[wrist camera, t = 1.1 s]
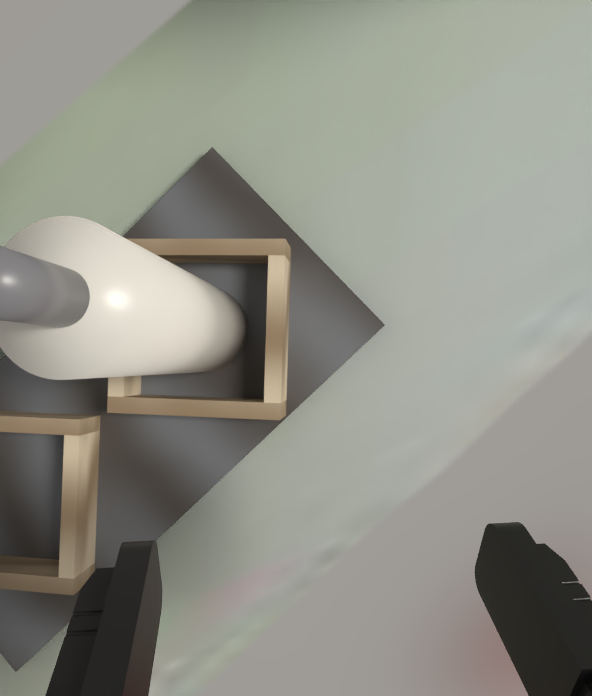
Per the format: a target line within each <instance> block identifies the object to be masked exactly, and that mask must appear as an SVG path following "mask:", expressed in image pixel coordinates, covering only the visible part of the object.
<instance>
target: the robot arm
mask: <svg viewBox="0 0 592 696" xmlns="http://www.w3.org/2000/svg"><path fill="white" fill-rule="evenodd" d="M475 579H476V585H477V588H478V591H479V593H480V596H481V598H482V600H483V602H484V604H485V606H486V608H487V610H488V612H489V614H490V617H491V619H492V621H493V623H494V625H495V627H496V629H497V631H498V633H499V635H500V637H501V639H502V641H503V643H504V645H505V647H506V650H507V652H508V654H509V656H510V657H511V660H512V662H513V664H514V666H515V668H516V670H517V672H518V674H519V676H520V678H521V681H522V682H523V685H524V687H525V689H526V691H527V693H528V695H529V696H592V601H591V600H590V596H589V594H588V593H587V591H586V590H585V588H584V587H583V586H582V584H579V581H578V579H577V577H576V576H575V574H574V573H573V571H572V570H571V569H570V567H569V566H568V564H567V563H566V562H565V560H564V559H562V558H561V557H560V556H559V555H558V554H556V553H555V552H554V551H553V550H552V549H550V548H549V547H548V546H547V545H546V544H536V543H535V541H534V540H533V538H532V537H531V535H530V534H529V532H528V531H527V530H526V528H525V527H524V526H523V525H522V524H521V523H519V522H515V523H514V522H513V523H494V524H488V525H487V526H486V528H485V532H484V535H483V539H482V542H481V546H480V550H479V554H478V558H477V562H476V566H475ZM161 607H162V582H161V574H160V566H159V558H158V549H157V543H156V541H155V540H152V541H133V542H123V543H122V544H121V546H120V549H119V553H118V557H117V560H116V564H115V567H110V568H97V569H96V570H95V571H94V572H93V574H92V575H91V576H90V577H89V579H88V580H87V581H86V583H85V584H84V585H83V586H82V588H81V589H80V592H79V595H78V598H77V601H76V604H75V607H74V610H73V616H72V617H71V620H70V623H69V626H68V629H67V635H66V637H65V638H64V641H63V644H62V647H61V650H60V653H59V656H58V659H57V662H56V665H55V668H54V672H53V675H52V678H51V681H50V684H49V687H48V690H47V693H46V696H148V693H149V687H150V680H151V674H152V667H153V661H154V654H155V648H156V642H157V635H158V629H159V622H160V616H161Z"/></svg>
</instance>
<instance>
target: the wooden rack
mask: <svg viewBox="0 0 592 696" xmlns="http://www.w3.org/2000/svg"><path fill="white" fill-rule="evenodd" d="M124 238H126V239H127V240H129V241H131V242H133V243H135V244H137V245H139V246H141V247H142V248H144V249H146V250H148V251H150V252H152V253H154V254H155V255H157V256H159V257H161V258H163V259H165V260H167V261H169V262H170V263H172V264H174V265H176V266H178V267H180V268H182V269H184V270H185V271H187V272H189V273H191V274H193V275H195V276H197V277H198V278H200V279H202V280H204V281H206V282H208V283H210V284H212V285H213V286H215V287H217V288H219V289H221V290H223V291H225V292H227V293H228V294H230V295H231V296H233V297H234V298H235V299H236V300H237V301H238V302H239V303H240V305H241V306H242V308H243V310H244V312H245V314H246V317H247V322H248V337H247V342H246V344H245V347H244V349H243V351H242V352H241V354H240V355H239V357H238V358H237V359H236V360H235V361H234V362H233V363H231V364H230V365H228V366H227V367H225V368H223V369H220V370H217V371H212V372H197V373H179V374H161V375H143V376H125V377H107V378H89V379H72V380H53V379H46V378H42V377H38V376H36V375H33V374H31V373H29V372H27V371H25V370H23V369H22V368H20V367H19V366H18V365H16V364H15V363H14V362H12V361H11V360H10V358H9V357H8V356H7V355H5V356H4V357H3V358H2V359H1V360H0V652H1V654H2V655H3V656H4V658H5V659H6V660H7V661H8V663H9V664H10V665H11V666H12V668H13V669H14V670H15V671H17V670H18V669H20V668H21V667H22V666H23V665H24V664H25V663H26V662H27V661H28V660H29V659H30V658H31V657H33V656H34V655H35V654H36V653H37V652H38V651H39V650H40V649H41V648H42V647H43V646H44V645H45V644H46V643H47V642H48V641H50V640H51V639H52V638H53V637H54V636H55V635H56V634H57V633H58V632H59V631H60V630H61V629H62V628H63V627H64V626H65V625H67V624H68V623H69V622H70V620H71V617H72V616H73V610H74V607H75V604H76V601H77V598H78V595H79V592H80V589H81V588H82V586H83V585H84V584H85V583H86V581H87V580H88V579H89V577H90V576H91V575H92V574H93V572H94V571H95V570H96V569H97V568H110V567H115V564H116V560H117V557H118V553H119V549H120V546H121V544H122V543H123V542H133V541H152V540H155V541H156V540H157V539H158V538H159V537H160V536H161V535H162V534H163V533H164V532H165V531H166V530H167V529H169V528H170V527H171V526H172V525H173V524H174V523H175V522H176V521H177V520H178V519H179V518H180V517H181V516H182V515H183V514H184V513H186V512H187V511H188V510H189V509H190V508H191V507H192V506H193V505H194V504H195V503H196V502H197V501H198V500H199V499H200V498H201V497H203V496H204V495H205V494H206V493H207V492H208V491H209V490H210V489H211V488H212V487H213V486H214V485H215V484H216V483H217V482H218V481H220V480H221V479H222V478H223V477H224V476H225V475H226V474H227V473H228V472H229V471H230V470H231V469H232V468H233V467H234V466H235V465H237V464H238V463H239V462H240V461H241V460H242V459H243V458H244V457H245V456H246V455H247V454H248V453H249V452H250V451H251V450H252V449H254V448H255V447H256V446H257V445H258V444H259V443H260V442H261V441H262V440H263V439H264V438H265V437H266V436H267V435H268V434H269V433H271V432H272V431H273V430H274V429H275V428H276V427H277V426H278V425H279V424H280V423H281V422H282V421H283V420H284V419H285V418H286V417H288V416H289V415H290V414H291V413H292V412H293V411H294V410H295V409H296V408H297V407H298V406H299V405H300V404H301V403H302V402H303V401H305V400H306V399H307V398H308V397H309V396H310V395H311V394H312V393H313V392H314V391H315V390H316V389H317V388H318V387H319V386H320V385H322V384H323V383H324V382H325V381H326V380H327V379H328V378H329V377H330V376H331V375H332V374H333V373H334V372H335V371H336V370H337V369H339V368H340V367H341V366H342V365H343V364H344V363H345V362H346V361H347V360H348V359H349V358H350V357H351V356H352V355H353V354H354V353H356V352H357V351H358V350H359V349H360V348H361V347H362V346H363V345H364V344H365V343H366V342H367V341H368V340H369V339H370V338H371V337H373V336H374V335H375V334H376V333H377V332H378V331H379V330H380V329H381V328H382V327H383V326H384V324H383V323H382V322H381V321H380V320H379V318H378V317H377V316H376V315H375V314H374V313H373V312H372V311H371V310H370V309H369V308H368V307H367V306H366V305H365V304H364V303H363V302H362V301H361V300H360V299H359V298H358V297H357V296H356V295H355V294H354V293H353V292H352V291H351V290H350V289H349V288H348V287H347V286H346V284H345V283H344V282H343V281H342V280H341V279H340V278H339V277H338V276H337V275H336V274H335V273H334V272H333V271H332V270H331V269H330V268H329V267H328V266H327V265H326V264H325V263H324V262H323V261H322V260H321V259H320V258H319V257H318V256H317V255H316V254H315V253H314V252H313V250H312V249H311V248H310V247H309V246H308V245H307V244H306V243H305V242H304V241H303V240H302V239H301V238H300V237H299V236H298V235H297V234H296V233H295V232H294V231H293V230H292V229H291V228H290V227H289V226H288V225H287V224H286V223H285V222H284V221H283V220H282V219H281V217H280V216H279V215H278V214H277V213H276V212H275V211H274V210H273V209H272V208H271V207H270V206H269V205H268V204H267V203H266V202H265V201H264V200H263V199H262V198H261V197H260V196H259V195H258V194H257V193H256V192H255V191H254V190H253V189H252V188H251V187H250V186H249V185H248V183H247V182H246V181H245V180H244V179H243V178H242V177H241V176H240V175H239V174H238V173H237V172H236V171H235V170H234V169H233V168H232V167H231V166H230V165H229V164H228V163H227V162H226V161H225V160H224V159H223V158H222V157H221V156H220V155H219V154H218V153H217V152H216V151H215V149H214V148H213V147H212V148H211V149H210V150H209V151H208V152H207V153H206V154H205V155H204V156H203V157H202V158H201V159H200V160H199V161H198V162H197V163H196V164H195V165H194V166H193V167H192V168H191V169H190V170H189V171H188V172H187V173H186V174H185V175H184V176H183V177H182V178H181V179H180V180H179V181H178V182H177V183H176V184H175V185H174V186H173V187H172V188H171V189H170V190H169V191H168V192H167V193H166V194H165V195H164V196H163V197H162V198H161V199H160V200H159V201H158V202H157V203H156V204H155V205H154V206H153V207H152V208H151V209H150V210H149V211H148V212H147V213H146V214H145V215H144V216H143V217H142V218H141V219H140V220H139V221H138V222H137V223H136V224H135V225H134V226H133V227H132V228H131V229H130V230H129V231H128V232H127V233H126V234H125V236H124Z"/></svg>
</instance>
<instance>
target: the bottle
mask: <svg viewBox="0 0 592 696" xmlns="http://www.w3.org/2000/svg"><path fill="white" fill-rule="evenodd" d="M247 337H248V322H247V317H246V314H245V312H244V310H243V308H242V306H241V305H240V303H239V302H238V301H237V300H236V299H235V298H234V297H233V296H231V295H230V294H228V293H227V292H225V291H223V290H221V289H219V288H217V287H215V286H213V285H212V284H210V283H208V282H206V281H204V280H202V279H200V278H198V277H197V276H195V275H193V274H191V273H189V272H187V271H185V270H184V269H182V268H180V267H178V266H176V265H174V264H172V263H170V262H169V261H167V260H165V259H163V258H161V257H159V256H157V255H155V254H154V253H152V252H150V251H148V250H146V249H144V248H142V247H141V246H139V245H137V244H135V243H133V242H131V241H129V240H127V239H126V238H124V237H122V236H120V235H118V234H116V233H114V232H112V231H111V230H109V229H107V228H105V227H103V226H101V225H99V224H97V223H96V222H93V221H90V220H88V219H85V218H80V217H75V216H56V217H51V218H46V219H43V220H40V221H37V222H35V223H33V224H31V225H29V226H27V227H26V228H24V229H23V230H21V231H20V232H19V233H17V234H16V235H15V236H14V237H13V238H12V239H11V240H10V241H9V242H8V243H7V244H6V246H5V247H2V246H0V348H1V349H2V350H3V352H4V353H5V354H6V355H7V356H8V357H9V358H10V360H11V361H12V362H14V363H15V364H16V365H18V366H19V367H20V368H22V369H23V370H25V371H27V372H29V373H31V374H33V375H36V376H38V377H42V378H46V379H53V380H72V379H89V378H107V377H125V376H143V375H161V374H179V373H197V372H212V371H217V370H220V369H223V368H225V367H227V366H228V365H230V364H231V363H233V362H234V361H235V360H236V359H237V358H238V357H239V355H240V354H241V352H242V351H243V349H244V347H245V344H246V342H247Z"/></svg>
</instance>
